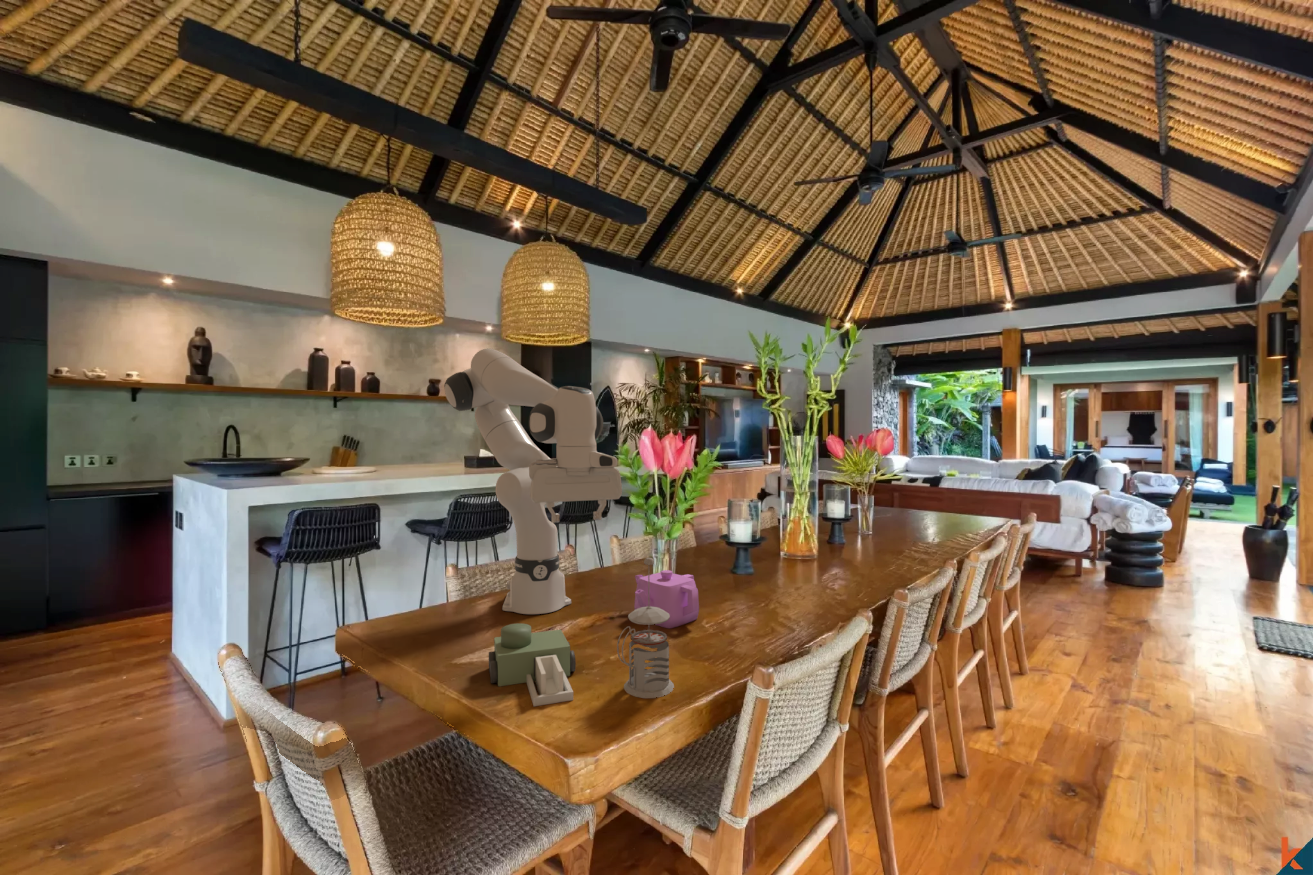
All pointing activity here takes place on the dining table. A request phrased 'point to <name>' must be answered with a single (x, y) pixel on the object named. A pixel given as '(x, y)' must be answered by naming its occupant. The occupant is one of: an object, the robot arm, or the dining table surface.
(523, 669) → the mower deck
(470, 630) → the dining table surface
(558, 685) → the slotted cream stand
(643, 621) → the french press
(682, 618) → the teakettle
